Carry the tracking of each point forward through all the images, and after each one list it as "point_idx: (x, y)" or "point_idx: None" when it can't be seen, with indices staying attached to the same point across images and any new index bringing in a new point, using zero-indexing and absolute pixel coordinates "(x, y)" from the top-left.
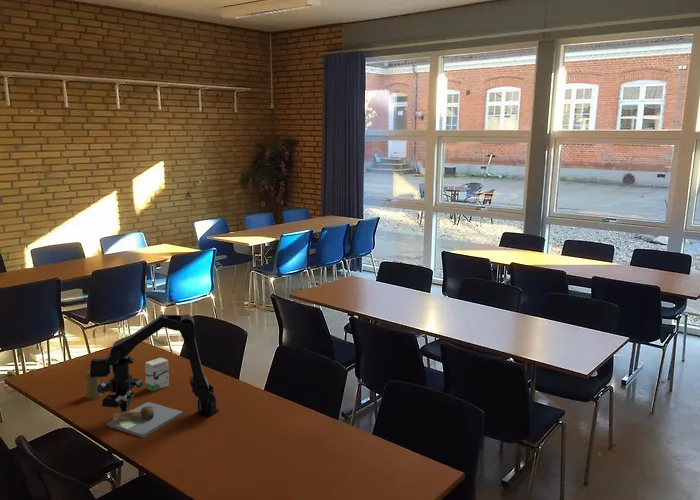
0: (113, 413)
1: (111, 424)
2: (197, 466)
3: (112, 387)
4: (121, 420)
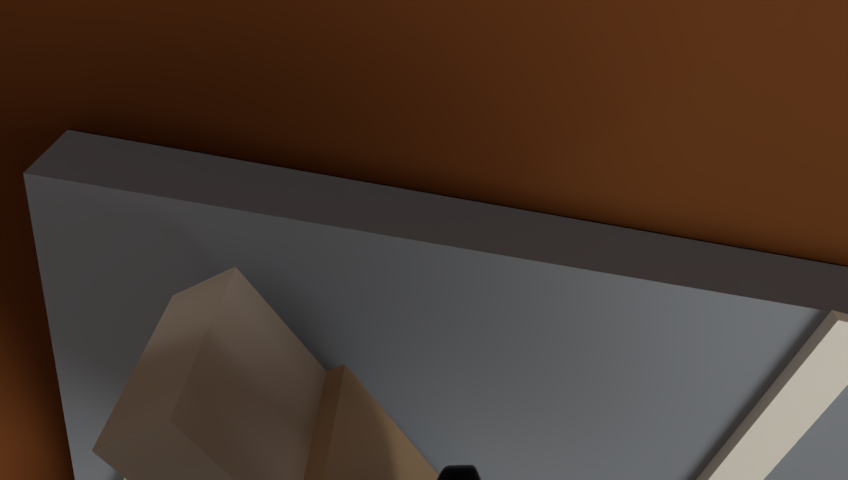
0: (117, 446)
1: (47, 306)
2: None
3: None
4: None
